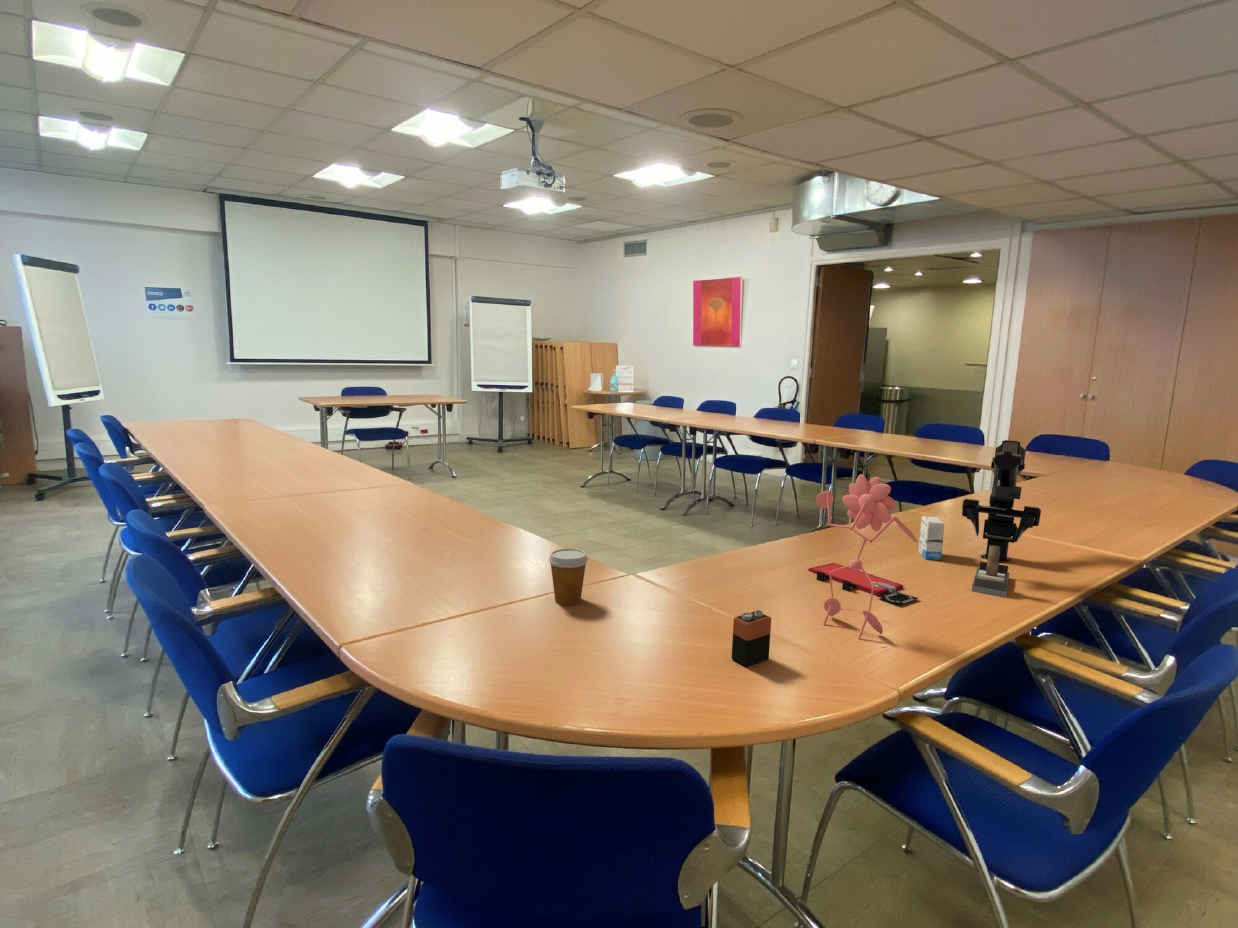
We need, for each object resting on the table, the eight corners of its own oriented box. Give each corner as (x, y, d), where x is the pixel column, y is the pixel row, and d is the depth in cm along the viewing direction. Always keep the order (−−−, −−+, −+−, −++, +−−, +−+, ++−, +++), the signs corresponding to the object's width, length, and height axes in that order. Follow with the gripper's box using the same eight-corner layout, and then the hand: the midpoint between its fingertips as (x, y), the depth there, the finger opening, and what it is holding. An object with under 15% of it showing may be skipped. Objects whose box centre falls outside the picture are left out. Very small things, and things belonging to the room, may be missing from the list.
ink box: (941, 560, 199) (945, 523, 197) (924, 559, 200) (928, 522, 198) (934, 552, 207) (938, 516, 205) (917, 551, 208) (921, 515, 206)
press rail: (976, 572, 188) (978, 560, 188) (1008, 577, 184) (1010, 566, 184) (971, 590, 173) (972, 578, 173) (1006, 597, 169) (1007, 584, 169)
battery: (730, 659, 132) (732, 612, 130) (754, 651, 136) (756, 605, 134) (745, 668, 128) (748, 620, 126) (769, 659, 132) (772, 612, 130)
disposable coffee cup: (592, 596, 164) (593, 550, 162) (578, 610, 155) (578, 561, 153) (558, 591, 167) (558, 545, 165) (541, 604, 158) (541, 556, 156)
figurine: (892, 654, 135) (910, 488, 130) (792, 613, 156) (804, 468, 150) (931, 638, 144) (949, 482, 139) (831, 601, 165) (844, 464, 159)
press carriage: (978, 578, 178) (982, 542, 176) (1003, 583, 174) (1008, 546, 173) (976, 584, 173) (981, 547, 172) (1002, 588, 170) (1007, 551, 168)
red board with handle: (894, 609, 160) (929, 598, 168) (895, 598, 160) (930, 588, 168) (799, 575, 185) (833, 567, 193) (799, 565, 184) (834, 558, 192)
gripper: (966, 470, 184) (958, 516, 177) (1045, 478, 175) (1039, 527, 167) (966, 493, 192) (958, 537, 185) (1041, 502, 182) (1035, 549, 175)
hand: (996, 537), depth 178 cm, fingers open, 9 cm apart
